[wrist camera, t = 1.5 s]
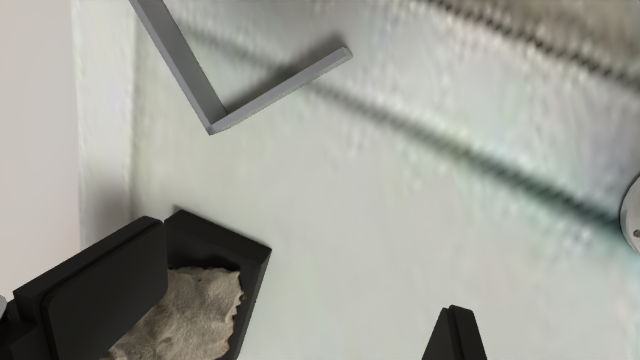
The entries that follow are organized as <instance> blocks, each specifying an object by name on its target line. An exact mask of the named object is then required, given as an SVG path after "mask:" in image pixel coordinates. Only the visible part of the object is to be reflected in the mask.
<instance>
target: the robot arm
mask: <svg viewBox="0 0 640 360" xmlns="http://www.w3.org/2000/svg"><path fill="white" fill-rule="evenodd" d="M620 224H621V228H622V232H623V235H624V237H625V238H626V240H627V242H628V244H629V245H630V246H631V247H632V248H633V249H634V250H635V251H636V252H637V253H638V254H640V177H639V178H638V179H637V180H636V181H635V183H634V184H633V185H632V186H631V188H630V189H629V191H628V193H627V195H626V197H625V199H624V201H623V205H622V208H621V214H620ZM167 289H168V269H167V242H166V227H165V226H163V222H162V221H161V220H158V219H155V218H152V217H148V216H142V217H140V218H138V219H137V220H135V221H133V222H131V223H130V224H128V225H126V226H124V227H123V228H121V229H119V230H118V231H116V232H114V233H112V234H111V235H109V236H107V237H105V238H104V239H102V240H100V241H99V242H97V243H95V244H93V245H92V246H90V247H88V248H86V249H85V250H83V251H81V252H80V253H78V254H76V255H74V256H73V257H71V258H69V259H67V260H66V261H64V262H62V263H61V264H59V265H57V266H55V267H54V268H52V269H50V270H48V271H47V272H45V273H43V274H42V275H40V276H38V277H36V278H35V279H33V280H31V281H29V282H28V283H26V284H24V285H23V286H21V287H19V288H17V289H16V290H14V291H13V295H14V299H13V300H11V301H9V302H8V303H7V301H6V299H5V297H3V296H1V295H0V360H99V359H100V358H101V357H102V356H103V355H104V354H105V353H106V352H107V351H108V350H109V349H110V348H111V347H112V346H113V345H114V344H115V343H116V342H117V341H118V340H120V339H121V338H122V337H123V336H124V335H125V334H126V333H127V332H128V331H129V330H130V329H131V328H132V327H133V326H134V325H135V324H136V323H137V322H138V321H139V320H140V319H141V318H142V317H143V316H144V315H145V314H146V313H147V312H148V311H149V310H150V309H151V308H153V307H154V306H155V305H156V304H157V303H158V302H159V301H160V300H161V299H162V298H163V297H164V295H165V294H166V292H167ZM422 360H487V357H486V354H485V350H484V347H483V343H482V340H481V337H480V333H479V330H478V326H477V323H476V320H475V316H474V313H473V311H472V310H469V309H465V308H462V307H459V306H455V305H450V306H449V308H448V309H447V308H442V310H441V312H440V315H439V317H438V320H437V322H436V325H435V327H434V330H433V332H432V335H431V337H430V340H429V342H428V345H427V347H426V350H425V352H424V355H423V357H422Z"/></svg>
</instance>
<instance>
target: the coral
mask: <svg viewBox="0 0 640 360" xmlns="http://www.w3.org/2000/svg"><path fill="white" fill-rule="evenodd" d="M163 226H165V227H166V242H167V269H168V289H167V292H166V294H165V295H164V297H163V298H162V299H161V300H160V301H159V302H158V303H157V304H156V305H155V306H154V307H153V308H151V309H150V310H149V311H148V312H147V313H146V314H145V315H144V316H143V317H142V318H141V319H140V320H139V321H138V322H137V323H136V324H135V325H134V326H133V327H132V328H131V329H130V330H129V331H128V332H127V333H126V334H125V335H124V336H123V337H122V338H121V339H120V340H118V341H117V342H116V343H115V344H114V345H113V346H112V347H111V348H110V349H109V350H108V351H107V352H106V353H105V354H104V355H103V356H102V357H101V358H100V359H99V360H237V358H238V356H239V353H240V350H241V347H242V344H243V341H244V337H245V334H246V331H247V328H248V325H249V321H250V318H251V315H252V312H253V309H254V306H255V303H256V299H257V296H258V293H259V290H260V287H261V284H262V280H263V277H264V274H265V271H266V268H267V265H268V262H269V258H270V255H271V252H272V249H270V248H268V247H266V246H264V245H261V244H259V243H257V242H255V241H253V240H250V239H248V238H246V237H243V236H241V235H239V234H236V233H234V232H232V231H229V230H227V229H225V228H223V227H221V226H218V225H216V224H214V223H212V222H209V221H207V220H205V219H203V218H200V217H198V216H196V215H194V214H191V213H189V212H186V211H184V210H179V211H178V212H176V213H175V214H173V215H172V216H170V217H169V218H167V219H166V220H164V223H163Z"/></svg>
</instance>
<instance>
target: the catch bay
mask: <svg viewBox="0 0 640 360" xmlns="http://www.w3.org/2000/svg"><path fill="white" fill-rule="evenodd" d="M129 2H130V3H131V5H132V7H133V8H134V10H135V12H136V13H137V15H138V17H139V18H140V20H141V22H142V23H143V25H144V27H145V28H146V30H147V32H148V33H149V35H150V37H151V38H152V40H153V42H154V44H155V45H156V47H157V49H158V50H159V52H160V54H161V55H162V57H163V59H164V60H165V62H166V64H167V65H168V67H169V69H170V70H171V72H172V74H173V75H174V77H175V79H176V80H177V82H178V84H179V86H180V87H181V89H182V91H183V92H184V94H185V96H186V97H187V99H188V101H189V102H190V104H191V106H192V107H193V109H194V111H195V112H196V114H197V116H198V117H199V119H200V121H201V123H202V124H203V126H204V128H205V129H206V131H207V133H208V134H209V136H210V135H213V134H216V133H218V132H221V131H224V130H226V129H229V128H231V127H233V126H234V125H236V124H238V123H240V122H241V121H243V120H245V119H246V118H248V117H250V116H252V115H253V114H255V113H257V112H259V111H260V110H262V109H264V108H266V107H267V106H269V105H271V104H272V103H274V102H276V101H278V100H279V99H281V98H283V97H285V96H286V95H288V94H290V93H292V92H293V91H295V90H297V89H298V88H300V87H302V86H304V85H305V84H307V83H309V82H311V81H312V80H314V79H316V78H318V77H319V76H321V75H323V74H324V73H326V72H328V71H330V70H331V69H333V68H335V67H337V66H338V65H340V64H342V63H344V62H345V61H347V60H349V59H350V58H352V57H353V56H352V54H351V52H350V50H349V49H347V48H344V47H341V48H339V49H338V50H336V51H334V52H333V53H331V54H329V55H328V56H326V57H324V58H323V59H321V60H319V61H318V62H316V63H314V64H313V65H311V66H309V67H308V68H306V69H304V70H303V71H301V72H299V73H298V74H296V75H294V76H293V77H291V78H289V79H288V80H286V81H284V82H283V83H281V84H279V85H278V86H276V87H274V88H273V89H271V90H269V91H268V92H266V93H264V94H263V95H261V96H259V97H258V98H256V99H254V100H253V101H251V102H249V103H248V104H246V105H244V106H243V107H241V108H239V109H238V110H236V111H234V112H233V113H231V114H229V115H228V114H227V112H226V111H225V109H224V107H223V105H222V104H221V102H220V100H219V98H218V97H217V95H216V93H215V91H214V90H213V88H212V86H211V84H210V83H209V81H208V79H207V77H206V76H205V74H204V72H203V70H202V69H201V67H200V65H199V63H198V62H197V60H196V58H195V56H194V55H193V53H192V51H191V50H190V48H189V46H188V44H187V43H186V41H185V39H184V37H183V36H182V34H181V32H180V30H179V29H178V27H177V25H176V23H175V22H174V20H173V18H172V16H171V15H170V13H169V11H168V9H167V8H166V6H165V4H164V2H163V1H162V0H129Z"/></svg>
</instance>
